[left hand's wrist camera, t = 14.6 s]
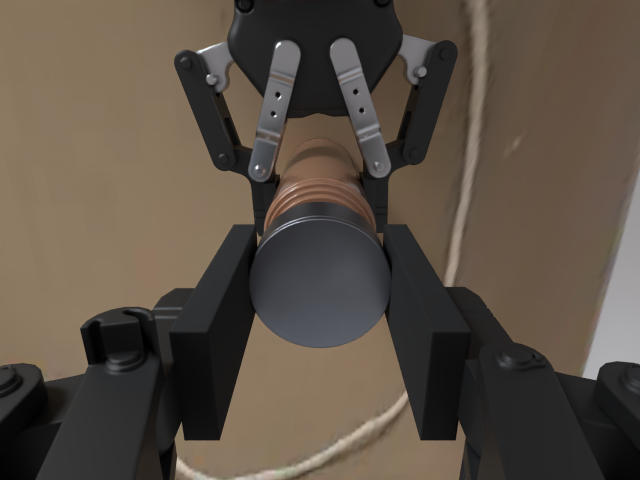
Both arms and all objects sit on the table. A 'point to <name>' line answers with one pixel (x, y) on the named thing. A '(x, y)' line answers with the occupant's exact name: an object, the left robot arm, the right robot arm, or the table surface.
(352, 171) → the bottle
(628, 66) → the table surface
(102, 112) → the table surface
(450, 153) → the table surface
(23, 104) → the table surface
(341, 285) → the cap
